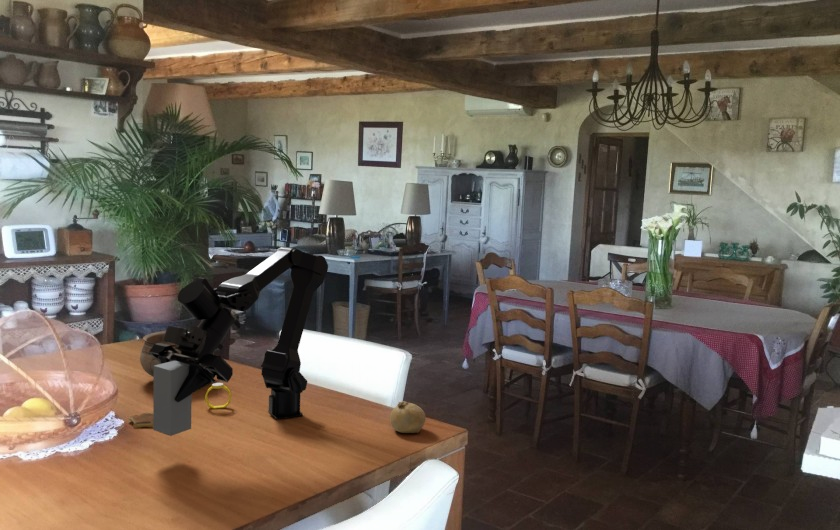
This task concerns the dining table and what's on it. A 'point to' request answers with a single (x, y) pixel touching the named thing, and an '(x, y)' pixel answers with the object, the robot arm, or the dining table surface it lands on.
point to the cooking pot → (145, 356)
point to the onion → (407, 418)
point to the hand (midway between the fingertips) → (166, 398)
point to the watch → (216, 386)
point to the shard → (142, 420)
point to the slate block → (170, 399)
